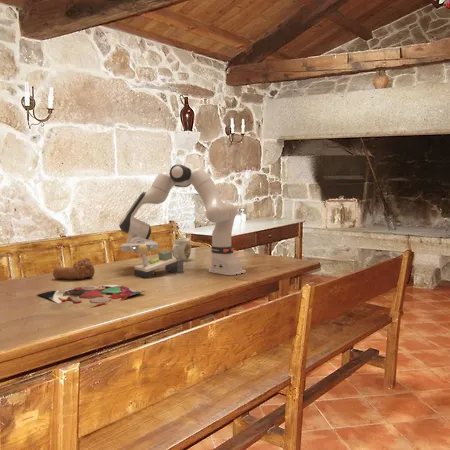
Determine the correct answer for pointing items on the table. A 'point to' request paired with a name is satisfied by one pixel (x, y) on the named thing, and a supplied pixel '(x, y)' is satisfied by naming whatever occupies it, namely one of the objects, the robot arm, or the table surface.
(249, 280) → the table surface
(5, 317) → the table surface
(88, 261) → the clay pipe
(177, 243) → the pitcher
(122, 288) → the colourful flat sheet
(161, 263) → the plate
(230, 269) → the robot arm
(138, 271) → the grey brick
